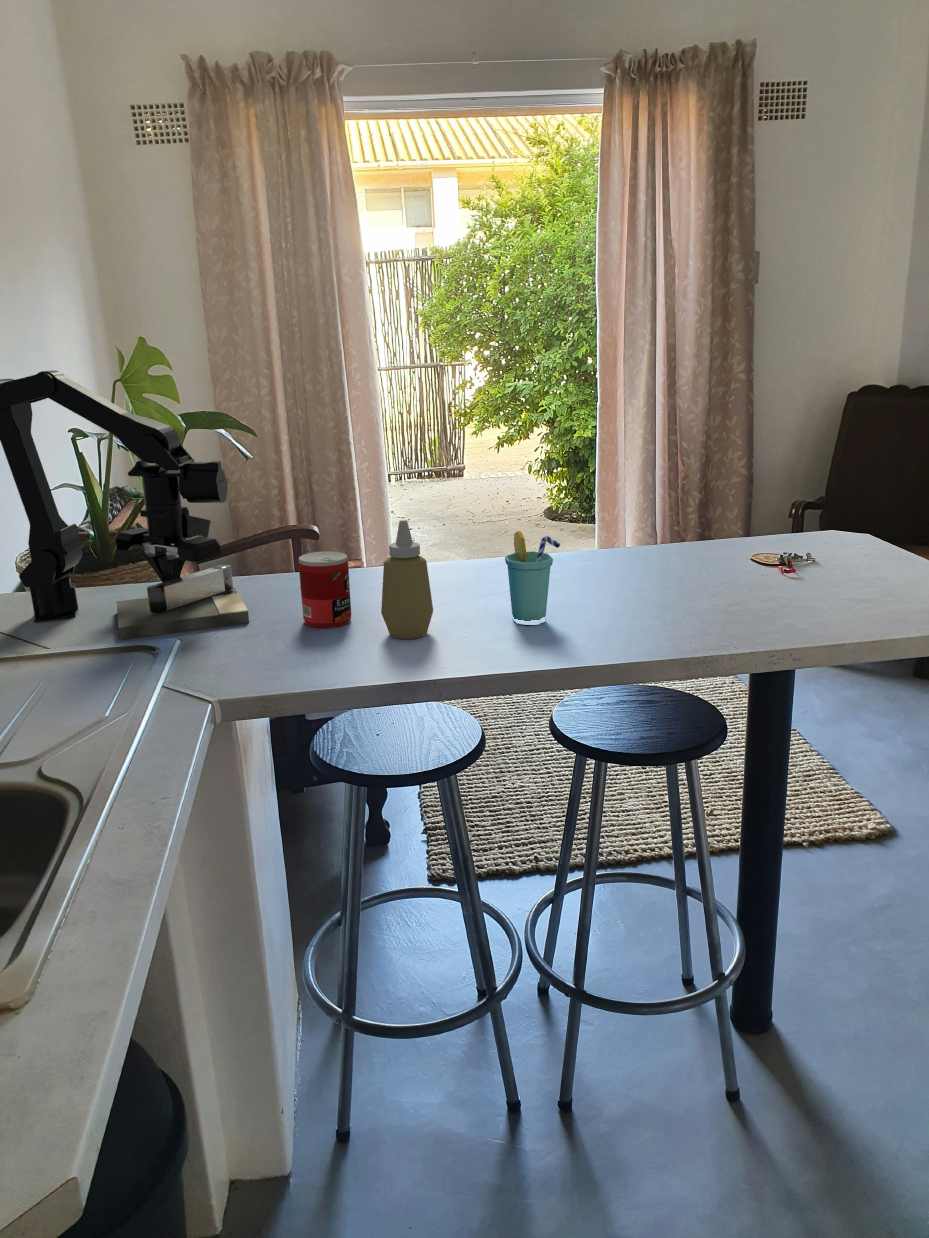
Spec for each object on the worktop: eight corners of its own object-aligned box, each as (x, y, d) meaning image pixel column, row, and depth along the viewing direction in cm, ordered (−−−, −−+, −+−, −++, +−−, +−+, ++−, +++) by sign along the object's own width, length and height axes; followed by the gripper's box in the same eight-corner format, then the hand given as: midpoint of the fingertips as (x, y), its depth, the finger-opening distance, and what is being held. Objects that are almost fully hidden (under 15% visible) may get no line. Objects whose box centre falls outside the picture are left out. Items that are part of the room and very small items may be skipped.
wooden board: (120, 639, 140) (118, 626, 139) (117, 612, 154) (116, 600, 154) (249, 622, 147) (247, 609, 146) (235, 598, 161) (234, 586, 161)
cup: (577, 629, 140) (579, 535, 135) (536, 638, 136) (537, 542, 132) (527, 607, 151) (527, 520, 147) (488, 615, 148) (487, 526, 143)
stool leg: (224, 585, 160) (221, 564, 159) (237, 587, 158) (234, 565, 157) (145, 611, 146) (142, 587, 145) (158, 613, 144) (155, 590, 143)
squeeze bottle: (441, 628, 142) (437, 516, 136) (422, 644, 135) (418, 527, 129) (394, 624, 144) (389, 514, 139) (374, 640, 137) (367, 525, 132)
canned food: (343, 629, 142) (338, 563, 139) (296, 627, 144) (290, 561, 141) (358, 615, 150) (354, 551, 146) (313, 613, 151) (308, 550, 148)
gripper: (239, 499, 150) (247, 588, 154) (159, 490, 158) (169, 575, 163) (190, 511, 140) (200, 606, 145) (108, 500, 149) (120, 590, 154)
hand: (172, 593), depth 152 cm, fingers closed
